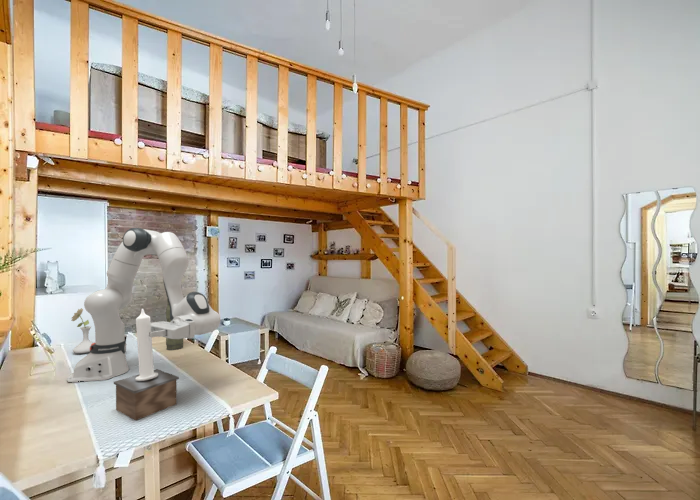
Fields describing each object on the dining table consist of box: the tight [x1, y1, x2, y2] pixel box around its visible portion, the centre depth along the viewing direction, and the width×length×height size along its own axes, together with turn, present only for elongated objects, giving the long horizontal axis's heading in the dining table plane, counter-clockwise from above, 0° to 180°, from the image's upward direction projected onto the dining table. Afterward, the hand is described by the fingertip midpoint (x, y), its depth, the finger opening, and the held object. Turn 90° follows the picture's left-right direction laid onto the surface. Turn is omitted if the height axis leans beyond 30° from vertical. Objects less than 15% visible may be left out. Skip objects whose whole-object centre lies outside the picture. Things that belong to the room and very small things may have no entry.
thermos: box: [165, 297, 184, 351], centre depth 195 cm, size 9×12×35 cm
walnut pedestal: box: [113, 368, 180, 421], centre depth 122 cm, size 15×15×10 cm
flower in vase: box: [70, 308, 94, 354], centre depth 187 cm, size 13×11×25 cm
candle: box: [135, 308, 158, 381], centre depth 123 cm, size 7×7×25 cm
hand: (144, 333), depth 121 cm, fingers open, 6 cm apart
